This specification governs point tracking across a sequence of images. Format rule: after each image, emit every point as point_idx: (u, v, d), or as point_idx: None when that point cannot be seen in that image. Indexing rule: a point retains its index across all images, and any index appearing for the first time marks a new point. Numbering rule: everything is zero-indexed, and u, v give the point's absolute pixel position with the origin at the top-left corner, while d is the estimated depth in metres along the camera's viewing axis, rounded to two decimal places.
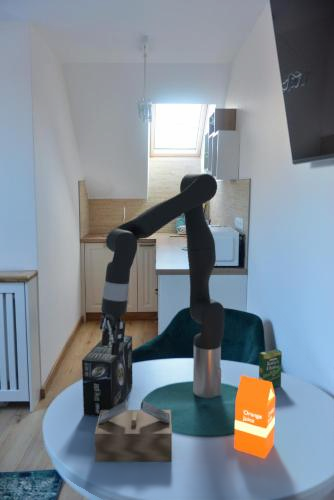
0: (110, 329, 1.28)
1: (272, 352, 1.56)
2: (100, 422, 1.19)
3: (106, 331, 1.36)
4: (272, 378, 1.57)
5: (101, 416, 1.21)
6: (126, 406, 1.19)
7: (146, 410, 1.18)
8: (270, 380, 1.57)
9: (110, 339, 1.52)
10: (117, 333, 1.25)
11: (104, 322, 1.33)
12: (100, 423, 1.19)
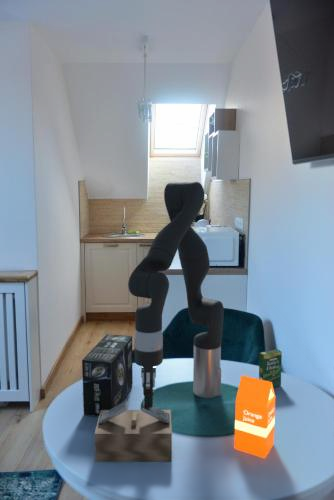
0: (142, 382, 1.17)
1: (272, 352, 1.56)
2: (100, 422, 1.19)
3: None
4: (272, 378, 1.57)
5: (101, 416, 1.21)
6: (126, 406, 1.19)
7: (146, 410, 1.18)
8: (270, 380, 1.57)
9: (110, 339, 1.52)
10: (144, 391, 1.15)
11: None
12: (100, 423, 1.19)
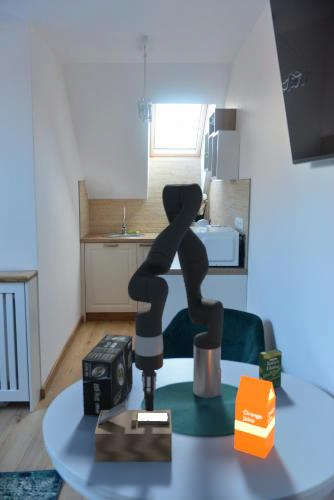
0: None
1: (272, 352, 1.56)
2: (100, 422, 1.19)
3: None
4: (272, 378, 1.57)
5: (101, 416, 1.21)
6: (126, 406, 1.19)
7: (142, 421, 1.19)
8: (270, 380, 1.57)
9: (110, 339, 1.52)
10: (145, 395, 1.15)
11: None
12: (100, 423, 1.19)
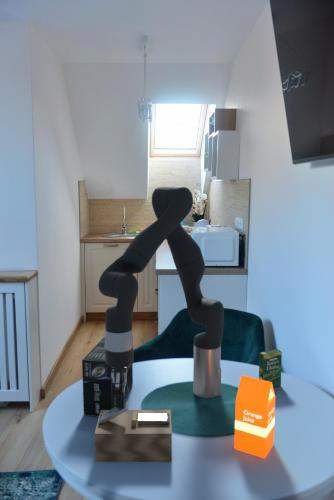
0: None
1: (272, 352, 1.56)
2: (100, 422, 1.19)
3: None
4: (272, 378, 1.57)
5: (101, 416, 1.21)
6: (126, 406, 1.19)
7: (142, 421, 1.19)
8: (270, 380, 1.57)
9: None
10: (114, 392, 1.15)
11: None
12: (100, 423, 1.19)
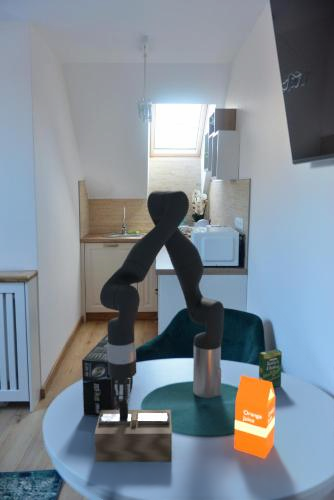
0: (116, 394, 1.18)
1: (272, 352, 1.56)
2: (100, 422, 1.19)
3: None
4: (272, 378, 1.57)
5: (102, 416, 1.21)
6: (130, 420, 1.20)
7: (142, 421, 1.19)
8: (270, 380, 1.57)
9: None
10: (118, 403, 1.15)
11: None
12: (100, 423, 1.19)
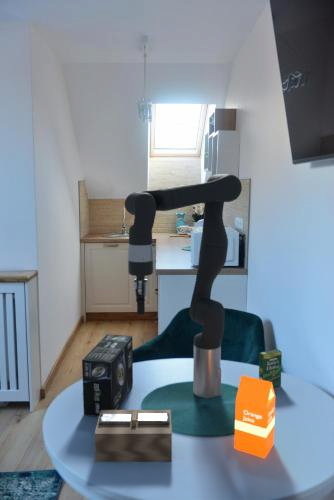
0: (135, 291, 1.34)
1: (272, 352, 1.56)
2: (100, 422, 1.19)
3: None
4: (272, 378, 1.57)
5: (102, 416, 1.21)
6: (130, 420, 1.20)
7: (142, 421, 1.19)
8: (270, 380, 1.57)
9: (110, 339, 1.52)
10: (137, 297, 1.32)
11: None
12: (100, 423, 1.19)
